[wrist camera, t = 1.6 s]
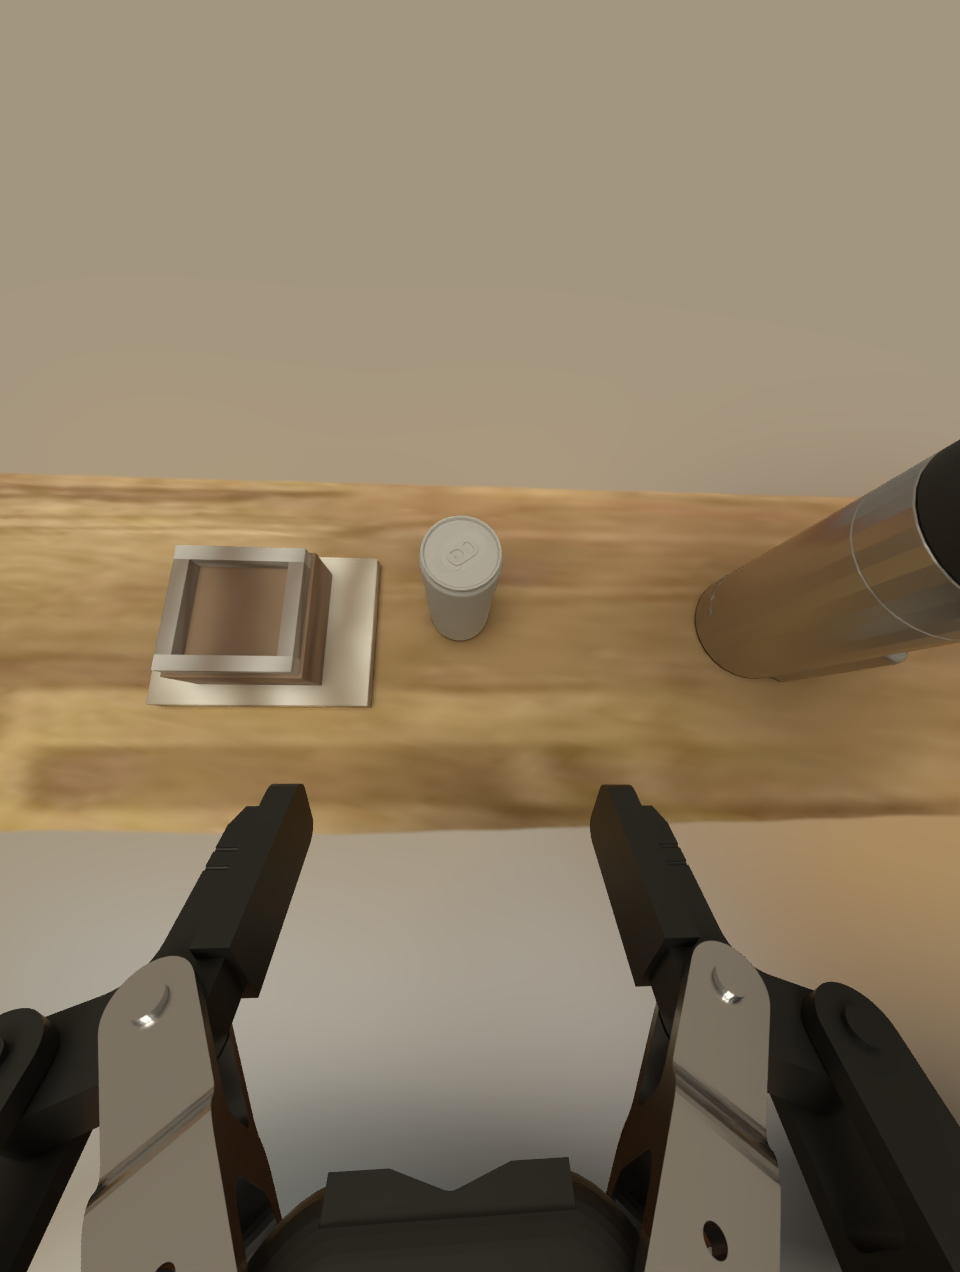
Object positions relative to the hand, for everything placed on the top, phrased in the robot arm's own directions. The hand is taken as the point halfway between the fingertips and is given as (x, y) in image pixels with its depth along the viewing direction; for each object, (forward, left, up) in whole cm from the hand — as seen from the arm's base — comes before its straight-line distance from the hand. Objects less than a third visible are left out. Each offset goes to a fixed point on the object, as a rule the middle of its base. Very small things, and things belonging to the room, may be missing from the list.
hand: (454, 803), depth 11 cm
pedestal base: (+18, -1, -21) cm, 27 cm away
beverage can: (+6, -10, -21) cm, 24 cm away
